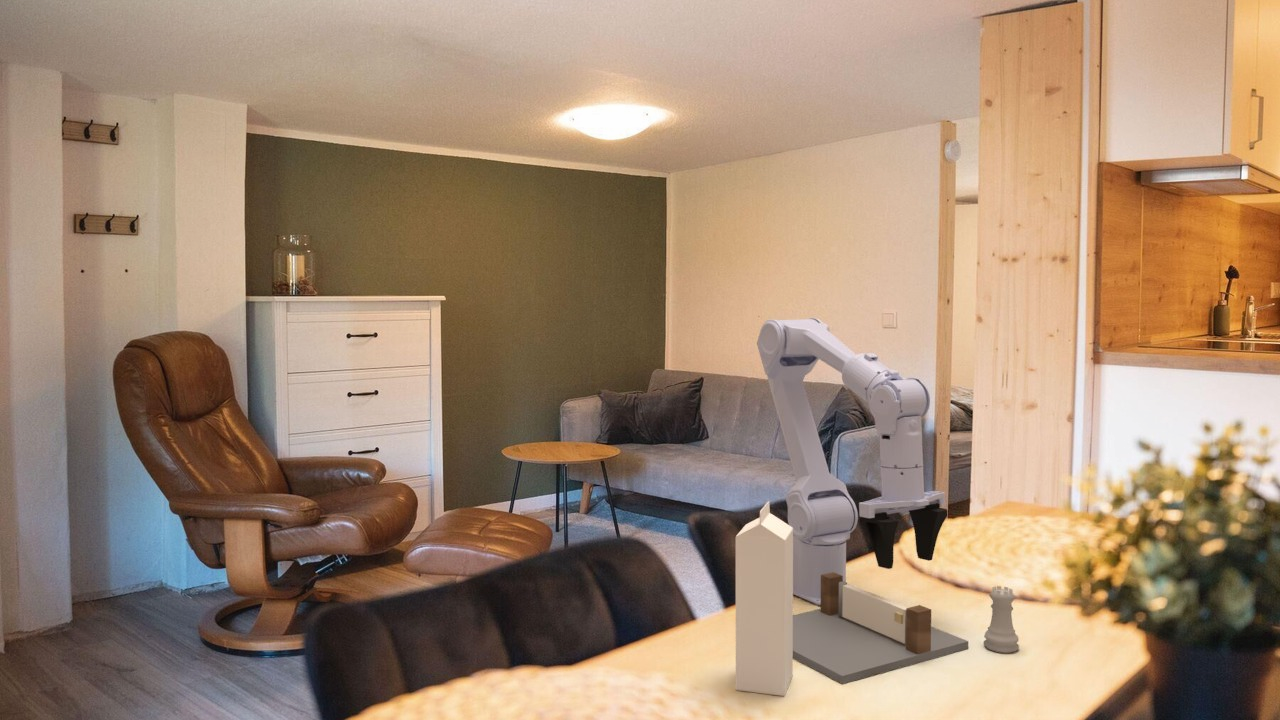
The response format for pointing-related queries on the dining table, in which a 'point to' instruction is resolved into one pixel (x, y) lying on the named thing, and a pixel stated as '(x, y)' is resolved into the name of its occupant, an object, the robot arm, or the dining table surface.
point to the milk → (764, 605)
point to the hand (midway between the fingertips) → (905, 563)
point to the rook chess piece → (1001, 623)
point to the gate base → (858, 647)
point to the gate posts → (915, 616)
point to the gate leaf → (872, 611)
